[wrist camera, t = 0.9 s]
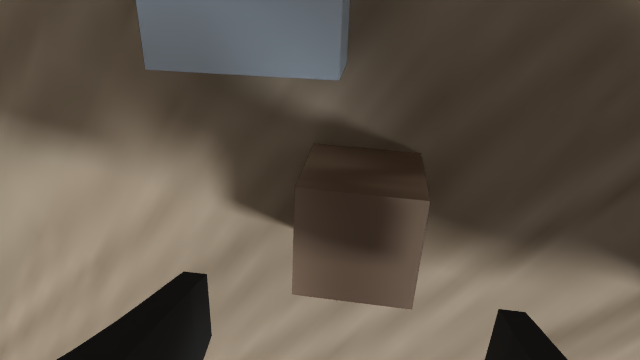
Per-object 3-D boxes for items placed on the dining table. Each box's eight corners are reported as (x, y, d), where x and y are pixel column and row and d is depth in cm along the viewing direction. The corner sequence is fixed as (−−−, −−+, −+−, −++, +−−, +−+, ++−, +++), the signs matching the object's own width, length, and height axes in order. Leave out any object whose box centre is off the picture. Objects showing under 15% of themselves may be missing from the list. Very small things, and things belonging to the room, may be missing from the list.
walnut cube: (420, 152, 16) (430, 201, 13) (406, 243, 18) (412, 309, 15) (313, 142, 17) (294, 187, 13) (310, 233, 19) (292, 294, 15)
